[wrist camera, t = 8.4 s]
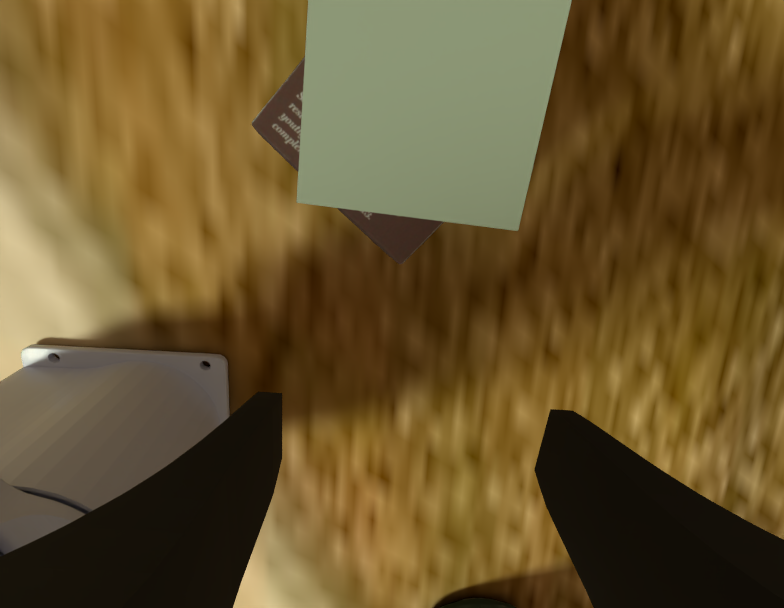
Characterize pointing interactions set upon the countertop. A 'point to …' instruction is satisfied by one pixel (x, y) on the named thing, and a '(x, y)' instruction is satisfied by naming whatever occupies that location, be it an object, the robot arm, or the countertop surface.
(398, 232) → the box
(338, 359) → the countertop surface
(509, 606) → the coffee jar
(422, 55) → the sage block
